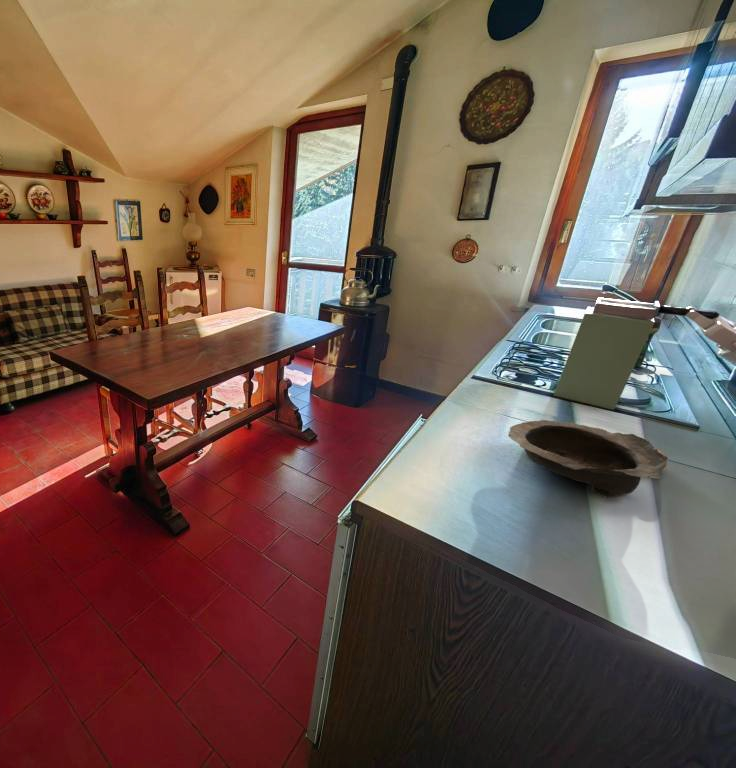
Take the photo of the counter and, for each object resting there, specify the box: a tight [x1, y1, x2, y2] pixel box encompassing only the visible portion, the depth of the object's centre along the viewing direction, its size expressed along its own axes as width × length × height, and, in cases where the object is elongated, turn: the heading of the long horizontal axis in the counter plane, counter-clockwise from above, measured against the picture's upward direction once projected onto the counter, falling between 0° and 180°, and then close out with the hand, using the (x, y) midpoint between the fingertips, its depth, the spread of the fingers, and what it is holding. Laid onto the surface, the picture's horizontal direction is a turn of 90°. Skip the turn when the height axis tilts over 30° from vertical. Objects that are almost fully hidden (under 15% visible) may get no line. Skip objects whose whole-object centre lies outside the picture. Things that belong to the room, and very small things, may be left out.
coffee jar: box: [634, 316, 662, 368], centre depth 145 cm, size 10×8×19 cm
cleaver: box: [593, 297, 721, 320], centre depth 105 cm, size 23×10×4 cm, turn 46°
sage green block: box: [552, 306, 655, 411], centre depth 115 cm, size 14×12×26 cm
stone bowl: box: [507, 419, 669, 498], centre depth 83 cm, size 25×25×9 cm
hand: (687, 310), depth 101 cm, fingers open, 5 cm apart
